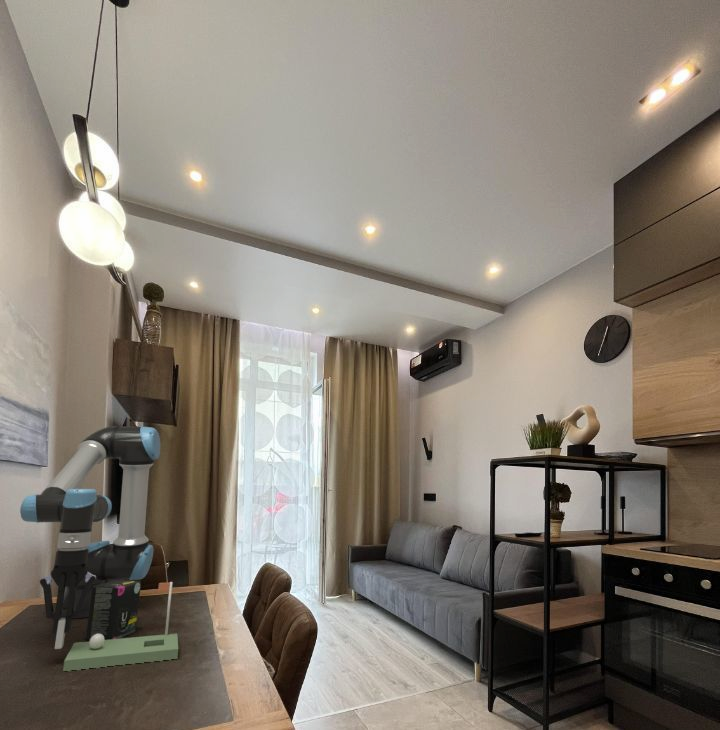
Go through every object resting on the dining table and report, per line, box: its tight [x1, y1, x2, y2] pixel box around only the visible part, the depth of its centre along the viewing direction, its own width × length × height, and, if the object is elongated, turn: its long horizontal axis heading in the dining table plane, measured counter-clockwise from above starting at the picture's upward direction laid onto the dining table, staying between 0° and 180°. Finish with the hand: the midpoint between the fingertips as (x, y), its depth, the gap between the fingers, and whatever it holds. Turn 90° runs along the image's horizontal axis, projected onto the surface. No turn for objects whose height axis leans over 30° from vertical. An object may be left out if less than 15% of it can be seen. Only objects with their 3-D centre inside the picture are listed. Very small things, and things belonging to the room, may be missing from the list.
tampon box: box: [85, 580, 142, 641], centre depth 146 cm, size 11×9×15 cm
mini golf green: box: [62, 581, 179, 672], centre depth 130 cm, size 14×26×16 cm, turn 111°
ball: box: [88, 634, 105, 649], centre depth 126 cm, size 4×4×4 cm
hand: (59, 647), depth 123 cm, fingers closed
